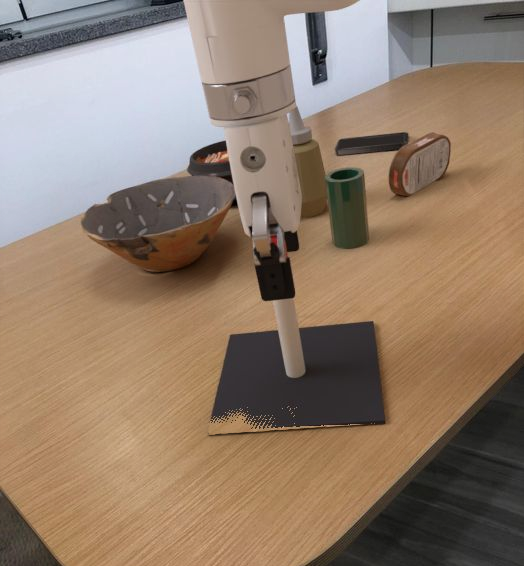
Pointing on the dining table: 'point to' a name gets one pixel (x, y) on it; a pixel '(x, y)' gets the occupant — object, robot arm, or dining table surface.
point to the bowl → (161, 220)
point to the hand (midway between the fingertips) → (282, 273)
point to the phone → (371, 143)
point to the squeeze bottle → (308, 167)
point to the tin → (419, 164)
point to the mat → (303, 378)
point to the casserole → (211, 162)
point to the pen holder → (347, 207)
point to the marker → (289, 334)
